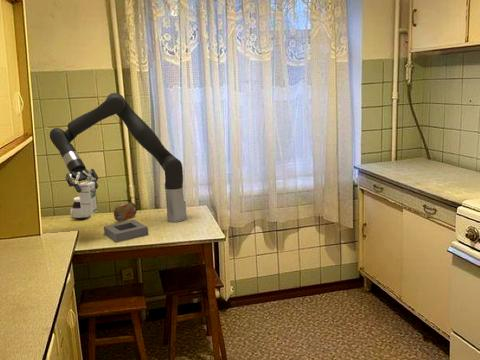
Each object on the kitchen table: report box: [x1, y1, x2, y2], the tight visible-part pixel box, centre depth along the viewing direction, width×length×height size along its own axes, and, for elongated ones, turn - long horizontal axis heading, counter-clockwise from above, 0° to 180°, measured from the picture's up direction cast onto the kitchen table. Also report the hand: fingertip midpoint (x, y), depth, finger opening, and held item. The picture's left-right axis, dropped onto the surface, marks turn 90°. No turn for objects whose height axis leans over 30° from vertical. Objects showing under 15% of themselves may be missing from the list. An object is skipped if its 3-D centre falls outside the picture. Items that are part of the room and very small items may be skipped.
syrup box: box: [77, 180, 99, 215], centre depth 235 cm, size 6×6×14 cm
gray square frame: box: [103, 219, 149, 243], centre depth 244 cm, size 16×16×4 cm
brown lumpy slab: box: [113, 202, 138, 223], centre depth 269 cm, size 15×3×8 cm, turn 148°
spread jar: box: [70, 196, 91, 221], centre depth 276 cm, size 12×11×12 cm
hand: (88, 190), depth 233 cm, fingers closed on syrup box, 8 cm apart
